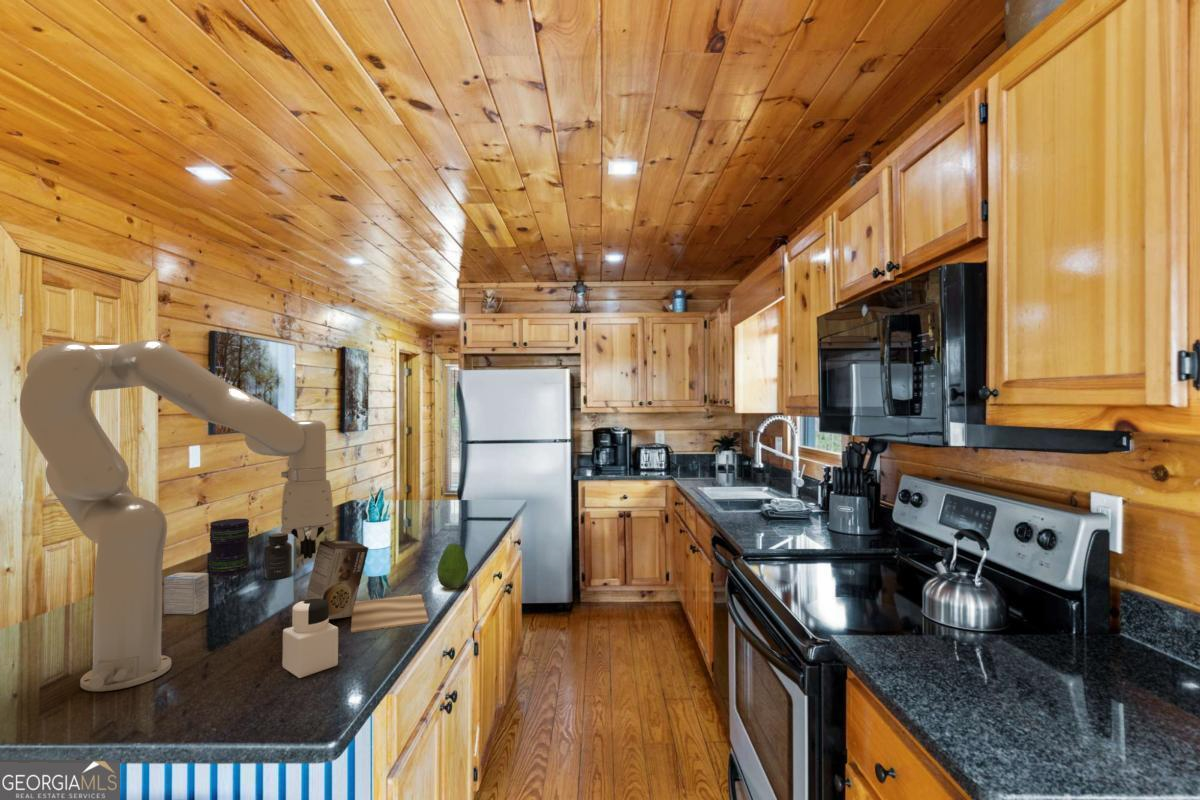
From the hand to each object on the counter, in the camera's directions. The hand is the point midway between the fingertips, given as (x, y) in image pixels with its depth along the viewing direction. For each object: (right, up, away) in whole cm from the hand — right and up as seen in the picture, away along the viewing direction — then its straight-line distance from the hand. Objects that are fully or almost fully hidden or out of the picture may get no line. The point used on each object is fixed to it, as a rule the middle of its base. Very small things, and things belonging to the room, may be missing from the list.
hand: (308, 557), depth 130 cm
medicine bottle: (+12, -14, -23) cm, 29 cm away
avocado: (+26, -15, +25) cm, 39 cm away
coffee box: (+4, -14, +1) cm, 14 cm away
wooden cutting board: (+16, -15, +6) cm, 23 cm away
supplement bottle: (-27, -16, +36) cm, 48 cm away
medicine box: (-32, -15, +7) cm, 36 cm away
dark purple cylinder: (-44, -16, +40) cm, 61 cm away
